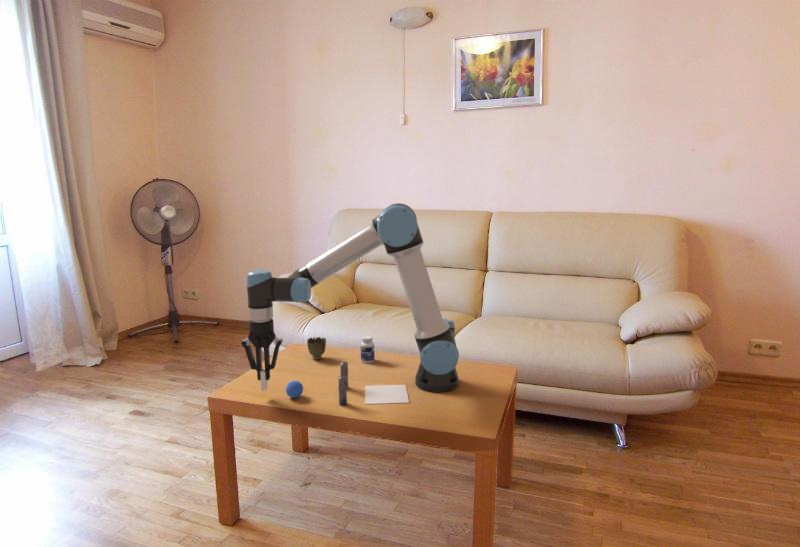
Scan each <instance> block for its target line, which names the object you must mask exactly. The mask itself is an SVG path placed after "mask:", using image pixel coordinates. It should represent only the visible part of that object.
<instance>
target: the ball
mask: <svg viewBox="0 0 800 547" xmlns="http://www.w3.org/2000/svg"><path fill="white" fill-rule="evenodd" d="M285 392H286V394H287V396H288V397H289V398H292V399H296V398H297V399H298V398H299V397H300V396H301V395H302V394H303V392H304V386H303V384H302V383H301V382H300V381H298V380H292V381H290V382H288V383H287V385H286V387H285Z"/></svg>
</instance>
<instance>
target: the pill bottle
mask: <svg viewBox="0 0 800 547" xmlns="http://www.w3.org/2000/svg"><path fill="white" fill-rule="evenodd" d="M361 338H362V339H361V340H362V342H361V343H360V362H362V363H363V364H371V362H372V363H373V362H375V342H374V341H373V339H374V338H373V336H371V335H364V336H362V337H361Z"/></svg>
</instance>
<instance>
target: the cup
mask: <svg viewBox="0 0 800 547" xmlns="http://www.w3.org/2000/svg"><path fill="white" fill-rule="evenodd" d="M321 337H322V336H321ZM321 337H320V336H319V337H318V336H316V337H314V336H313V338H312V337H309V338H307V340H306V342H307V349H308V353H309V354H310V355H311V356H312V359H313V360H315V361H318V360H321V359H322V357H323V355H324V353H325V351H326V345H327V338H326V337H322V338H321Z"/></svg>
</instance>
